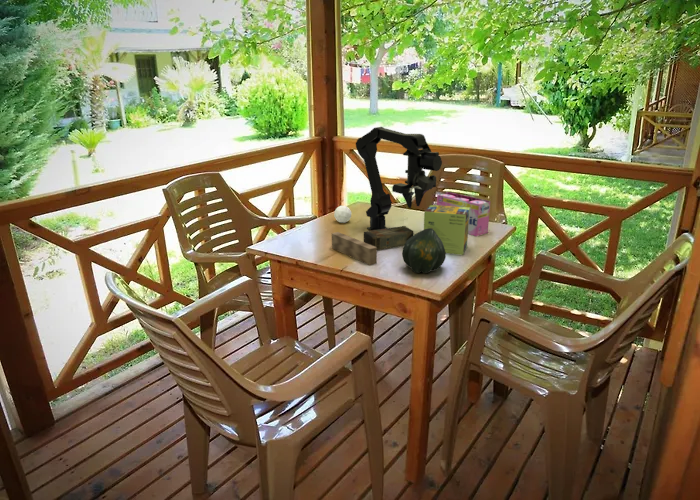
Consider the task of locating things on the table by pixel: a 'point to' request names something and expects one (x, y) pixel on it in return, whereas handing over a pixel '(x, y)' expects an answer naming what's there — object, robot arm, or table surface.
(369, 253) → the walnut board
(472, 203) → the gum box
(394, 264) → the table surface
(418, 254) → the squash
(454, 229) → the protein box
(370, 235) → the printed cardboard box
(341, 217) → the ball
